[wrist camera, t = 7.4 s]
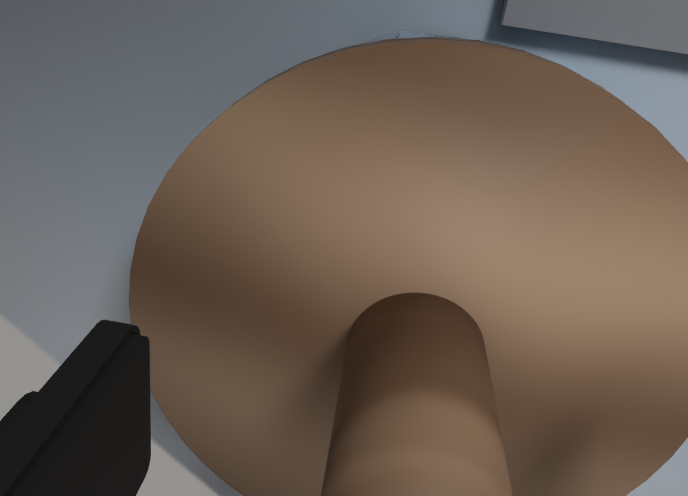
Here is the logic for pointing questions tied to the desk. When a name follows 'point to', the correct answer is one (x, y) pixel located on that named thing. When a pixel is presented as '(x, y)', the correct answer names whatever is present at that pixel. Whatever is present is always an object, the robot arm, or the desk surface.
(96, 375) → the robot arm
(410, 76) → the lid
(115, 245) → the desk surface
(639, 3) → the mat
